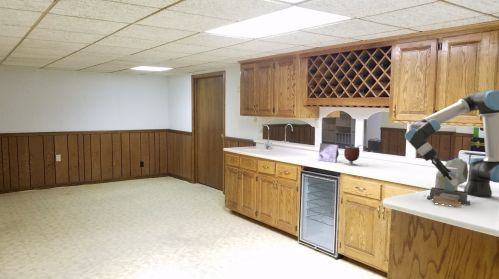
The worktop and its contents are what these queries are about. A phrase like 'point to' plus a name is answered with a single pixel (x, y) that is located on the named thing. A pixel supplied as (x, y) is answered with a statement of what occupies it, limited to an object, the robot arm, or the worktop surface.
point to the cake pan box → (328, 153)
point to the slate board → (447, 184)
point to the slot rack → (439, 191)
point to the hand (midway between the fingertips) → (456, 183)
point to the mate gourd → (351, 154)
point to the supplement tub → (441, 180)
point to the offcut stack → (447, 199)
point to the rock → (459, 169)
